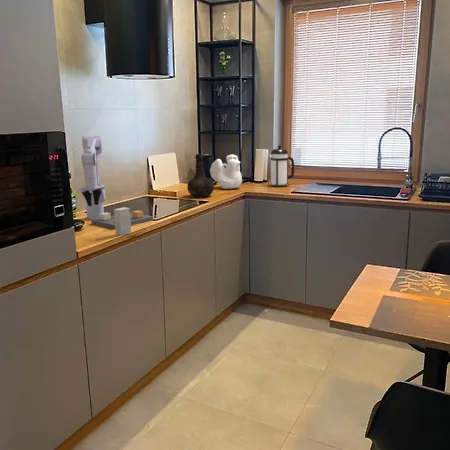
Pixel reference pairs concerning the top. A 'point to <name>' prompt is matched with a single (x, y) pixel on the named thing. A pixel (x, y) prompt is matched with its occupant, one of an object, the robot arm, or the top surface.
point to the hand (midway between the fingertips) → (93, 205)
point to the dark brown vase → (200, 180)
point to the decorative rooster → (227, 172)
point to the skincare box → (122, 221)
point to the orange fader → (137, 214)
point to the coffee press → (280, 167)
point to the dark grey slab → (111, 222)
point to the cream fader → (105, 216)
